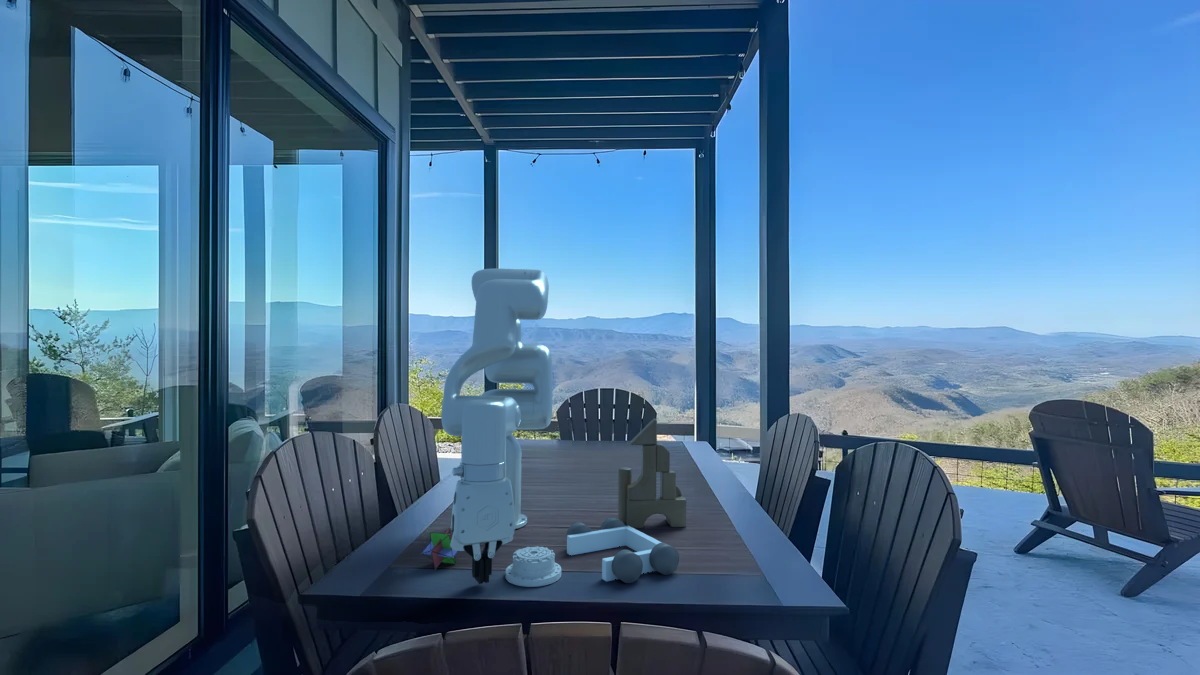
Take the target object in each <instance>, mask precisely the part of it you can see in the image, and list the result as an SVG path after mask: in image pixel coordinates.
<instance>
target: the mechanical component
mask: <svg viewBox="0 0 1200 675" xmlns="http://www.w3.org/2000/svg"><path fill="white" fill-rule="evenodd" d="M512 553H513V554H512V563H511V564H510V565H508V566H507V567H506V568H505V579H506V580H507V582H508V583H510V584H512V585H515V586H519V587H525V588H526V587H527V588H528V587H529V588H531V587H532V588H534V587H536V588H538V587H543V586H547V585H551V584H554V583H556V582H557V581H559V580H560V579H561V577H562V567H561V565H560V564H559V563H557V562H555V559H556V558H555V557H556V553H555V552H554V550H553V549H549V548H548V547H544V546H538V545H537V546H526V547H524V548H518V549H517V550H515V551H514V552H512Z"/></svg>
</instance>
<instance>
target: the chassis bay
mask: <svg viewBox="0 0 1200 675" xmlns="http://www.w3.org/2000/svg"><path fill="white" fill-rule="evenodd" d="M599 528H600V529H599V530H594V531H593V529H592V528H591V527H590V526H588V525H586V524H585V523H584V522H581V521H579V522H578V521H577V522H575V523H572V524H571V525H570V526H569V528H568V529H567V531H566V533H565V534H566V535H565V537H566V554H567V555H569V556H570V555H571V556H574V555H575V556H576V555H581V554H584V553H585V554H587V553H591V552H597V551H602V550H607V549H608V550H609V549H613V548H619V546H620V547H624V546H626V547H628V548H630V549H632V550H634V552H633V551H631V550H629V549H621V550H620V551H618V552H616V554H615V555H614V556H610V557H603V558H602V560H601V568H602V569H601V579H602V580H603V581H605V582H611V581H616V580H621V581H622V582H623V583H626V584H632V583H635V582H637V580H638V579H639V578H640V577H641V575H643V573H644V574H648V573H647V572H649V573H652V571H653V572H658V573H660V574H661V575H664V576H668V575H671V574H672V573H675V571H676V569H677V568H678V567H679V563H680V553H679V551H678V549H677V548H675V547H673V546H672V545H670V544H668V543H666V542H661V541H660V540H658V539H656V538H654V537H652V536H650V535H648V534H646V533H644V532H642V531H640V530H638V529H637V528H632V527H630V526H627V525H626V523H623V522H622V521H620V520H618V518H616V517H607V518H606V519H605V520H604V521H603V522H602V523H601V526H600V527H599ZM615 579H616V580H615ZM631 582H632V583H631Z"/></svg>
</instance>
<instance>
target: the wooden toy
mask: <svg viewBox="0 0 1200 675" xmlns="http://www.w3.org/2000/svg"><path fill="white" fill-rule="evenodd" d="M629 444H630V445H631V446H640V475H639V476H638V478H637V480H635V481H632V474H633V473H632V472H633V471H632V470H633V469H632V468H631V467H627V466H624V467H621V466H620V467H619V468H618V478H617V480H618V485H617V486H618V488H617V492H618V493H617V494H618V497H617V500H618V502H617V503H618V504H617V511H618V512H617V514H618V515H617V516H618V517H617V519H618V520H620V521H622V522H623V523H624V524H625V525H626V526H630V527H632V528H634V529H644V527H645V523H646V521H647V520H648V519H649V517H651V516H654V515H656V514H657V515H661V516H662V515H663V516H664V517H665V520H666V522H667V523H668V525H669V526H670V527H671V528H686V527H687V499H686V498H685V497H684V496H683V494H682V492H681V490H680V488H679V487H678V486H677V473H676V471H674V469H670V467H671V466H670V465H671V464H670V462H671V459H670V458H671V455H670V454H671V453H670V451H669V450H668V449H667V448H666V446H665V445H663V443H661V442H658V420H657V419H656V418H652V420H650V421H649V422H648V424H646V425H645V426H644V428H642V429H641V430H640V431H639V432H638V433H637V434H636V435H635V436H634V437H633V438H632V439H631V440H630V441H629ZM657 473H659V476H660V477H659V487H660V488H659V496H657Z"/></svg>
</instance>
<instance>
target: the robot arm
mask: <svg viewBox="0 0 1200 675" xmlns="http://www.w3.org/2000/svg"><path fill="white" fill-rule="evenodd" d="M549 286H550V285H549V281H548V276H547V275H546V273H545V272H544V271H542V270H540V269H528V268H526V269H525V268H524V269H522V268H521V269H520V268H485V269H480V270H476V271H475V272H474V273H473V275H472V276H471V289H472V294H473V297H474V300H475V310H474V322H473V335H472V344H471V346H470V347H469V348H468V349H467V350H466V351H465V352H463V353H462V354H461V355H460V357H459V358H457V360H456V361H455V363H454V364H453V365H452V367H451V368H450V370H449V371H448V374H447V376H446V378H445V383H444V388H443V396H442V404H441V405H442V406H441V418H440V419H441V425H442V429H443V430H444V432H445V433H446V434H447V435H449V436H453V437H461V455H460V456H461V457H460V458H461V460H460V461H461V462H459V466H457V467H453V468H452V476H454V477H459V478H460V479H458V480H457V481H456V486H455V489H454V494H453V502H452V510H451V519H450V520H451V521H450V522H451V523H450V527H451V534H452V539H451V543H450V547H451V548H452V550H456V551H459V552H466V554H468V555H469V556H470V557H471V576H472V578H473V579H475V581H476V582H477V584H478V585H482V584H483V583H485V584H487V583H489V582H490V576H491V575H492V572H493V570H492V569H493V568H492V567H493V563H492V562H493V558H494V557H495V555H496V552H498V550H499V549H500V547H501V546H502V545H505V544H507V543H510V542H512V541H513V540H514V535H515V532H516V531H515V530H518V529H521V528H523V527H525V525H527V523H528V516H527V515H525V514H523V513H521V512H522V511H521V509H522V508H521V507H522V506H521V504H522V502H521V501H522V456H523V455H522V447H521V444H520V442H519V440H518V439H517V437H515V435H514V434H513V433H515V432H516V430H543V429H546V428H548V427H549V426H550V424H551V422H552V418H553V416H552V415H553V360H552V359H553V358H552V354H551V351H550V349H549V348H548V347H547V346H546V345H543V344H540V343H523V342H522V323H521V321H522V320H526V321H528V320H529V321H531V320H533V321H536V320H537V321H538V320H541V319H542V318H544V316H545V315H546V313H547V309H548V304H549ZM482 370H484V374H485V376H486V379H487V380H488V381H489V382H492V383H495V384H496V383H498V384H521V385H522V384H523V385H524V384H527V385H528V384H529V385H531V386H532V387H533V389H531V388H530V389H527V388H526V389H525V388H524V389H523V388H522V389H521V388H520V389H519V388H518V389H517V388H496V389H495V388H494V389H490V390H486V391H484V392H483V393H482V394H481V395H461V390H462V387H463V385H464V383H465V382H466V381H467V380H468V379H469V378H470V377H471V376H472V375H474V374H476V373H478V372H479V371H482ZM480 544H483V549H482V551H481V546H480Z"/></svg>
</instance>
